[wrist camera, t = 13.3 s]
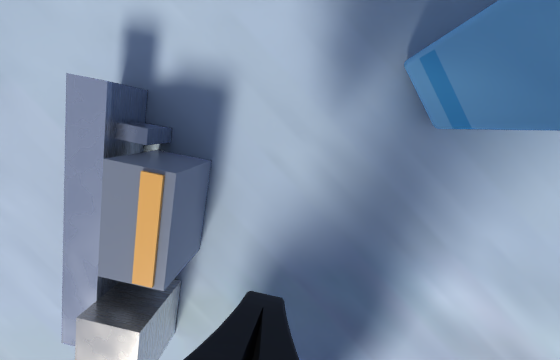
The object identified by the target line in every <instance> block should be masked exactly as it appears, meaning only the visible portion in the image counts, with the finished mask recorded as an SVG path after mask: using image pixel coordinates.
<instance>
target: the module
mask: <svg viewBox="0 0 560 360" xmlns="http://www.w3.org/2000/svg"><path fill="white" fill-rule="evenodd" d="M210 168H211V160H206V159H201V158H196V157H191V156H186V155H181V154H176V153H171V152H166V151H161V150H155V151H148V152H142V153H136V154H129V155H123V156H117V157H110V158H104V159H103V178H102V199H101V219H100V240H99V261H98V276H99V277H103V278H108V279H112V280H116V281H121V282H125V283H130V284H134V285H138V286H143V287H147V288H151V289H156V290H160V291H164V290H165V289H166V288H167V287H168V286H169V284H170V283H171V282H172V281H173V280H174V279H175V277H176V276H177V275H178V274H179V273H180V272H181V270H182V269H183V268H184V267H185V266H186V264H187V263H188V262H189V261H190V260H191V259H192V257H193V256H194V255H195V254H196V253H197V252H198V250H199V249H200V243H201V235H202V228H203V220H204V213H205V205H206V198H207V191H208V183H209V176H210Z"/></svg>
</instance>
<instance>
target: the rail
mask: <svg viewBox="0 0 560 360" xmlns="http://www.w3.org/2000/svg"><path fill="white" fill-rule="evenodd" d="M147 93H148V90H144V89H139V88H135V87H131V86H126V85H122V84H118V83H113V82H109V81H104V80H99V79H94V78H89V77H83V76H78V75H73V74H68V73H66V125H65V179H64V233H63V286H62V340H61V343H64V344H68V345H72V346H75V360H158V359H159V358H160V356H161V355H162V353H163V351H164V350H165V348H166V347H167V345H168V343H169V342H170V340H171V339H172V337H173V335H174V334H175V327H176V318H177V310H178V302H179V294H180V286H181V281H180V280H175V279H174V280H173V281H172V282H171V283H170V284H169V286H168V287H167V288H166V289H165V290H164V291H160V290H156V289H151V288H147V287H143V286H138V285H134V284H130V283H125V282H121V281H116V280H112V279H108V278H103V277H99V276H98V261H99V240H100V219H101V199H102V178H103V159H104V158H110V157H117V156H123V155H129V154H136V153H142V152H143V145H152V144H160V143H169V142H171V134H172V128H168V127H163V126H158V125H153V124H148V123H145V118H146V106H147Z"/></svg>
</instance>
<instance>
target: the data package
mask: <svg viewBox="0 0 560 360" xmlns="http://www.w3.org/2000/svg"><path fill="white" fill-rule="evenodd" d="M404 67H405V69H406V71H407V73H408V75H409V77H410V79H411V81H412V83H413V85H414V87H415V89H416V91H417V93H418V96H419V98H420V100H421V102H422V104H423V106H424V108H425V110H426V112H427V114H428V116H429V118H430V120H431V122H432V124H433V126H434V127H435V128H438V129H493V130H559V131H560V0H498V1H497V2H495V3H493V4H492V5H490V6H489V7H487V8H486V9H484V10H483V11H481V12H480V13H478V14H477V15H475V16H473V17H472V18H470V19H469V20H467V21H466V22H464V23H463V24H461V25H460V26H458V27H457V28H455V29H454V30H452V31H450V32H449V33H447V34H446V35H444V36H443V37H441V38H440V39H438V40H437V41H435V42H434V43H432V44H430V45H429V46H427V47H426V48H424V49H423V50H421V51H420V52H418V53H417V54H415V55H414V56H412V57H410V58H409V59H407V60H406V61H405V63H404Z"/></svg>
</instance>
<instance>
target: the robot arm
mask: <svg viewBox="0 0 560 360" xmlns="http://www.w3.org/2000/svg"><path fill="white" fill-rule="evenodd" d="M184 360H299V358H298V355H297V352H296V349H295V346H294V343H293V339H292V336H291V333H290V329H289V325H288V321H287V317H286V312H285V304H284V300H283V299H282V298H280V297H275V296H271V295H266V294H262V293H258V292H253V291H249V292H247V293H246V295H245V297H244V298H243V300H242V301H241V302H240V304H239V305H238V306H237V307H236V309H235V310H234V311H233V312H232V313H231V314H230V316H229V317H228V318H227V319H226V320H225V321H224V322H223V323H222V324H221V326H220V327H219V328H218V329H217V330H216V331H215V332H214V333H213V334H211V335H210V336H209V337H208V338H207V339H206V340H205V341H204V342H203V343H202V344H201V345H200V346H199V347H198V348H197V349H195V350H194V351H193V352H192V353H191V354H190V355H188V356H187V357H186V358H185V359H184Z"/></svg>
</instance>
